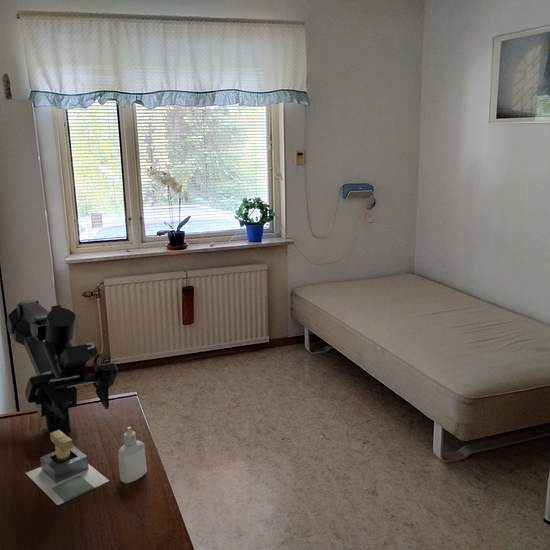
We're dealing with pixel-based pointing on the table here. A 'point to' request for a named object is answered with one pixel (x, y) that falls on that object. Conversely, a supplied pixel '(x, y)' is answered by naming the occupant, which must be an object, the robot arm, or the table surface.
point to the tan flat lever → (61, 446)
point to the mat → (72, 488)
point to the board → (47, 483)
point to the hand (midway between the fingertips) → (86, 412)
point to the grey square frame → (64, 465)
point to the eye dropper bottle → (131, 458)
